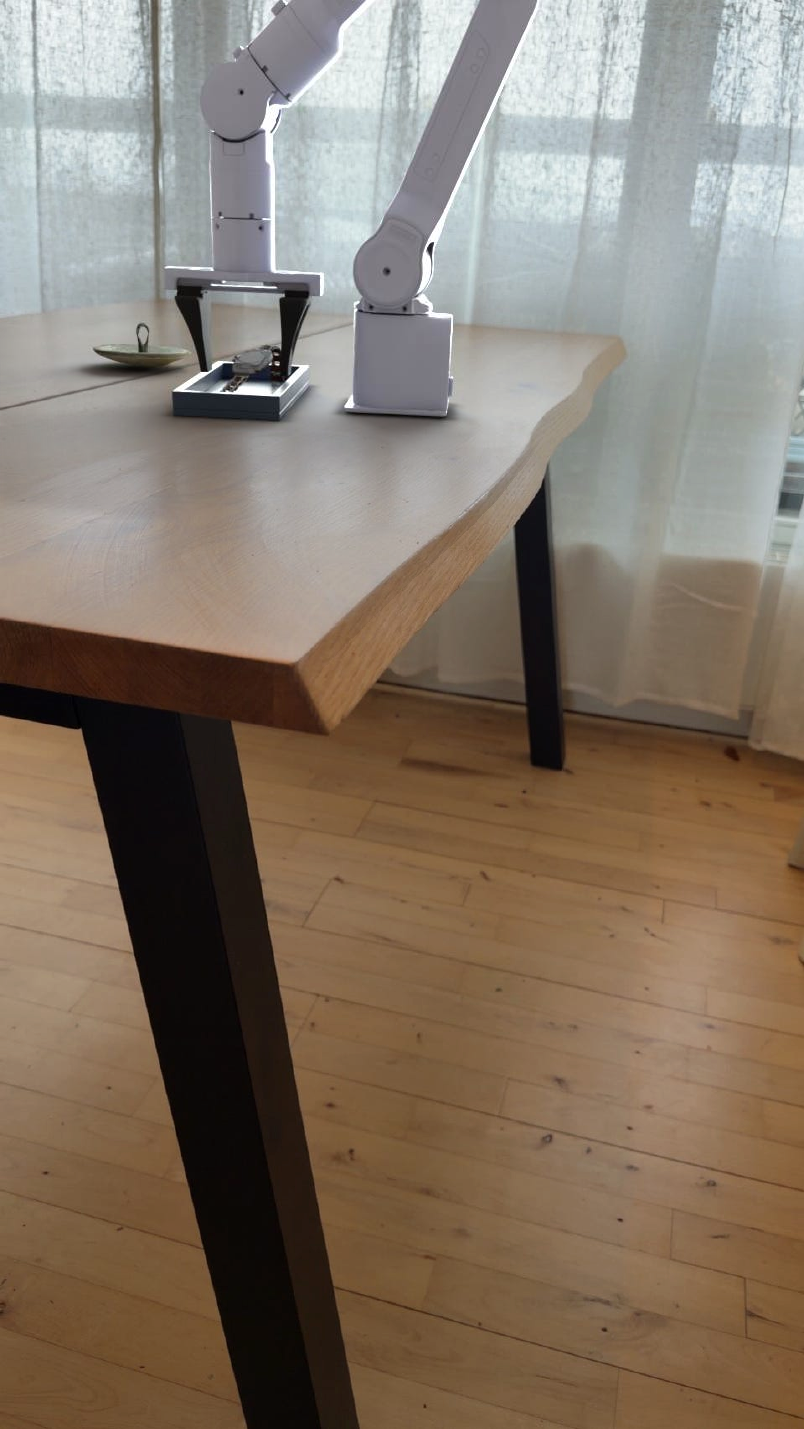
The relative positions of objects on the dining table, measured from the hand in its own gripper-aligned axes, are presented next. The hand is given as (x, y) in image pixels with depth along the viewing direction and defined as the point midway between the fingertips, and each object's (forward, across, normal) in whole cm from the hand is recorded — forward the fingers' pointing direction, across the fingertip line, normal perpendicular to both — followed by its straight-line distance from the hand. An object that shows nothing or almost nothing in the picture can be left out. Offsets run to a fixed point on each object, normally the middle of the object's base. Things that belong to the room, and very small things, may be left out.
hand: (246, 373), depth 109 cm
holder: (+2, 0, 0) cm, 2 cm away
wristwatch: (+2, 0, 0) cm, 2 cm away
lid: (+3, -16, +17) cm, 23 cm away
